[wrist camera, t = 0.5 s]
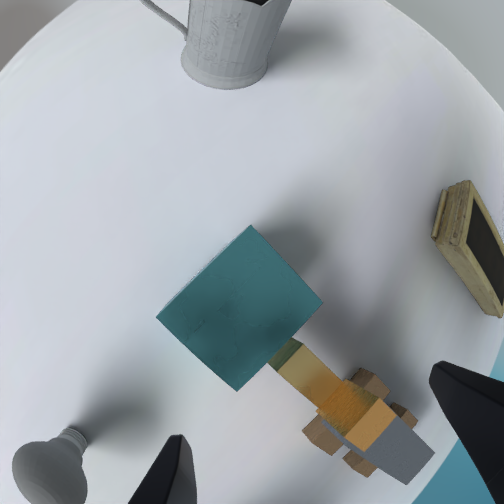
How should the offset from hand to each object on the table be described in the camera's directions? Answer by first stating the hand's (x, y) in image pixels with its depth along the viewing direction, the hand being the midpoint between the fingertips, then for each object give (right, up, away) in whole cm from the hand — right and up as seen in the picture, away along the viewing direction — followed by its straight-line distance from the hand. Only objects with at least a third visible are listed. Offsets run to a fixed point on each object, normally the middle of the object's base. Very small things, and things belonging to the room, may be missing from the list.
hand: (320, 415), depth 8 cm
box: (+25, +3, +21) cm, 33 cm away
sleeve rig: (+3, -6, +15) cm, 16 cm away
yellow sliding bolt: (+6, -8, +12) cm, 16 cm away
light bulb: (-18, -11, +10) cm, 24 cm away
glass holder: (-8, +25, +16) cm, 30 cm away
